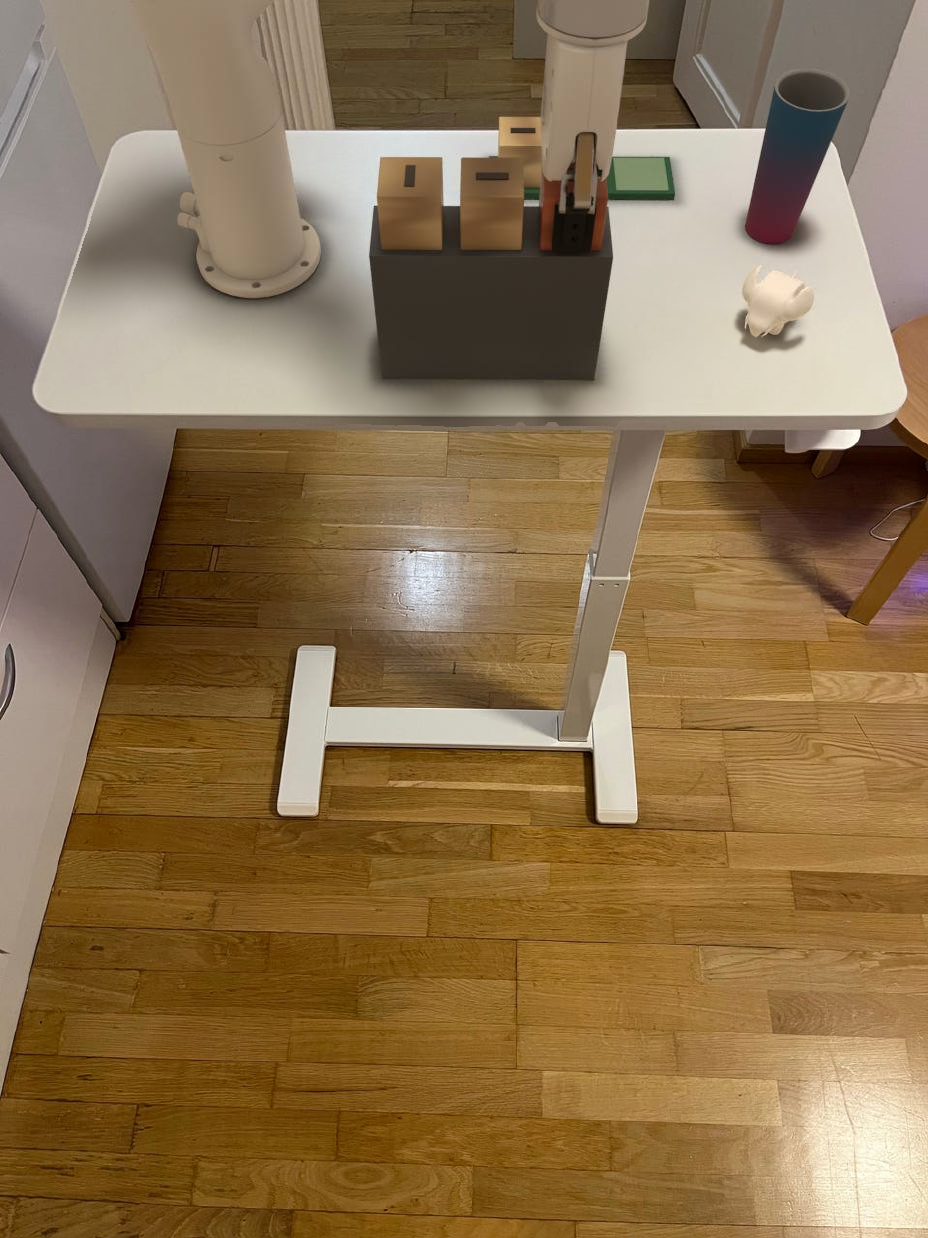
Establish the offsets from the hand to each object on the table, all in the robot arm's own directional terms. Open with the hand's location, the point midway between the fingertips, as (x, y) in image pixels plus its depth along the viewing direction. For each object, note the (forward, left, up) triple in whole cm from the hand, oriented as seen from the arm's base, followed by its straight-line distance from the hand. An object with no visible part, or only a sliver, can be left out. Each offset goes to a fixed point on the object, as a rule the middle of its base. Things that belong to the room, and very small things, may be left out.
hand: (569, 224), depth 81 cm
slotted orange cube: (0, 0, -1) cm, 1 cm away
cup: (+13, +27, -15) cm, 33 cm away
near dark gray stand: (-6, -3, -15) cm, 16 cm away
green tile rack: (-8, +26, -15) cm, 30 cm away
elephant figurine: (+17, +13, -15) cm, 26 cm away
